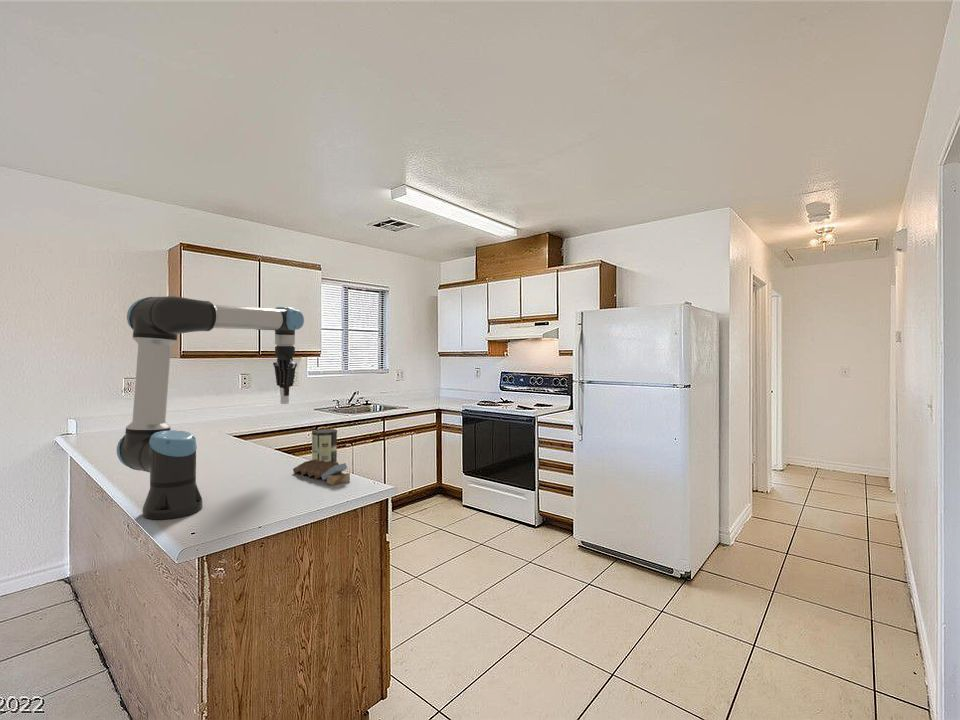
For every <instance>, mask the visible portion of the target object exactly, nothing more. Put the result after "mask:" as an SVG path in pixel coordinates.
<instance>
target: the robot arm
mask: <svg viewBox="0 0 960 720" xmlns="http://www.w3.org/2000/svg"><path fill="white" fill-rule="evenodd" d="M126 321H127V324H128V326H129V327H130V328H131V329H132V339H133V340H134V341H135V342H136V343H137V357H136V369H135V370H136V371H135V372H136V373H135V381H134V382H135V385H134V397H133V398H134V399H133V407H132V408H133V409H132V421H131V422H130V423H129V424H128V425H127V426H125V432H124V433H125V434H124V435H123V437H121V438H120V439H119V441H118V443H117V446H116V455H117V458H118V460H119V462H120V463H121V464H122V465H124V466H126V467H128V468H129V469H132V470H135V471H138V472H139V471H142V472H146V473H149V490H148V492H147V495H146V497H145V501H144V503H143V506H142V517H144V518H145V519H149V520H168V519H176V518H181V517H182V518H183V517H186V516H189V515H192V514H195V513H197V512H199V511H201V510H202V509H203V497H202V495H201V492H200V490H199V488H198V485H197V441H196V440H197V438H196V436H195V435H194V434H193V433H191V432H189V431H185V430H174V429H172V430H171V427H172V426H171V425H170V424H169V423H167V421H166V420H167V419H166V416H167V404H168V391H169V390H168V389H169V375H170V365H171V364H170V362H171V350H172V349H171V348H172V346H173V345H174V344H175V343H177V341H178V334H186V333H194V332H195V333H196V332H197V333H198V332H211V331H212V330H214V329H228V330H229V329H231V330H232V329H235V330H237V329H238V330H239V329H240V330H257V331H274V345H276V346H274V355H275V356H277V357H276V361H275V362H274V361H273V363H272V365H273V368H274V373H275V374H274V375H275V381H276V382H275V383H276V385H277V386H278V387H279V388H280V389H279V390H280V392H279V394H280V404H281V405H287V404H288V405H289V401H290V399H289V397H290V388H291V387H294V380H295V374H296V368H297V367H298V363H297V362H294V358H293V356H295V354H296V347H295V345H296V343H295V342H296V330H300V329H301V328H302V327H303V326H304V323H305V318H304V315H303V313H302V312H301V311H300V310H298V309H295V308H293V307H289V306H276V307H275V308H266V307H252V306H236V305H225V304H224V305H222V304H214V303H213V302H211V301H210V300H200V299H193V298H187V297H183V296H177V295H176V296H173V295H170V296H148V297H144V298H141V299H138V300H136V301H135V302H133V303H132V304H131V305H130V306H129V308H128V310H127V313H126Z"/></svg>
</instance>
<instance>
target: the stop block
mask: <svg viewBox="0 0 960 720" xmlns="http://www.w3.org/2000/svg"><path fill="white" fill-rule="evenodd" d="M350 478H351V473H350V472H349V471H342V472H341V473H337V474H333V475H329V476H327V480H326V484H327V485H329V486H336V485H339V484H343V483H347V482H350V480H351V479H350Z"/></svg>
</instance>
